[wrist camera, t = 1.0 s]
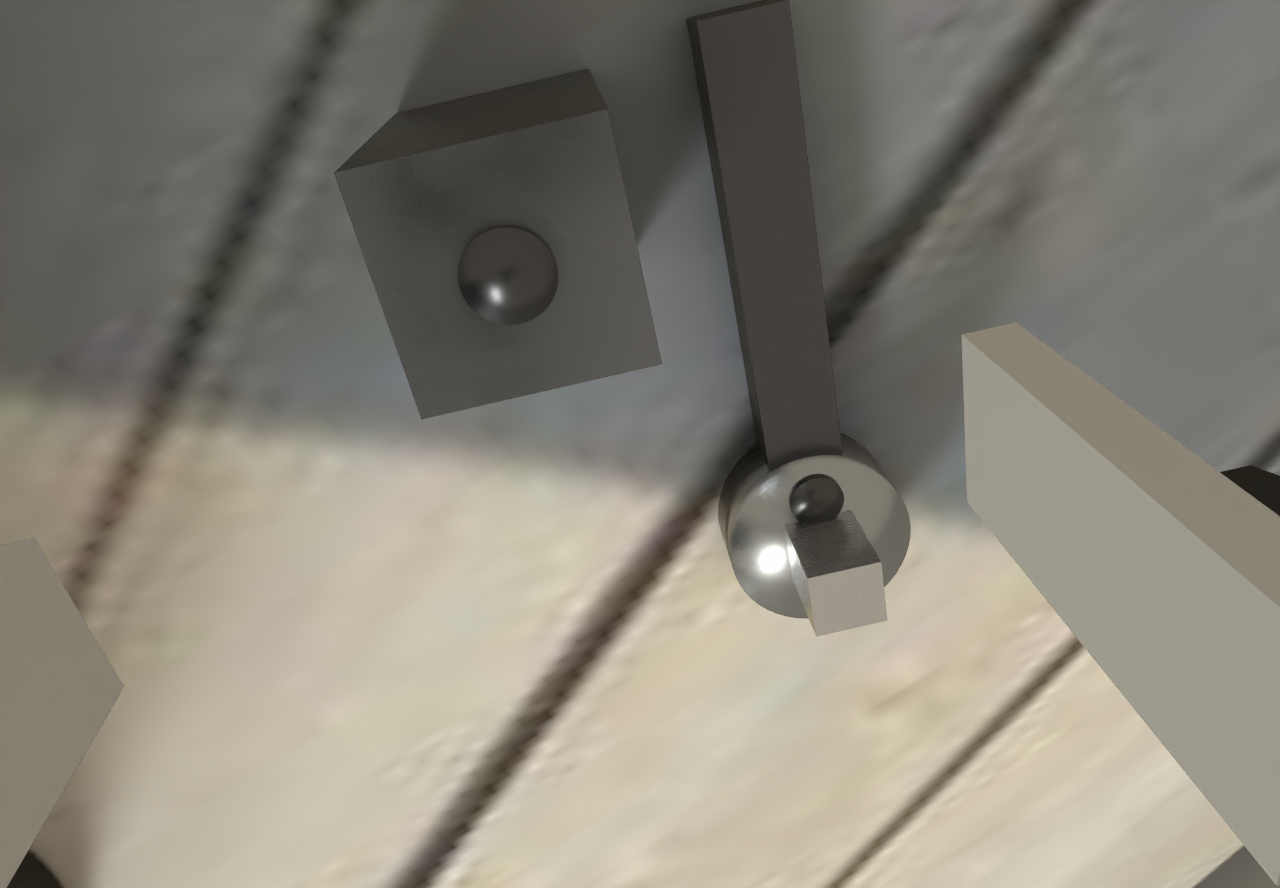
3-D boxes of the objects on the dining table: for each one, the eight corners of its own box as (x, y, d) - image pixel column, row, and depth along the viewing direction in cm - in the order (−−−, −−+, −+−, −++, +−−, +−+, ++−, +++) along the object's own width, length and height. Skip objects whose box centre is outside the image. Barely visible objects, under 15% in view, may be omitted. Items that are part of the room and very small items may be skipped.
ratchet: (732, 590, 40) (764, 695, 34) (622, 32, 29) (642, 47, 24) (891, 554, 40) (950, 653, 34) (836, -17, 29) (908, -15, 24)
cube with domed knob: (454, 298, 33) (420, 423, 24) (395, 113, 30) (331, 174, 21) (629, 258, 33) (662, 367, 24) (588, 68, 30) (608, 110, 21)
